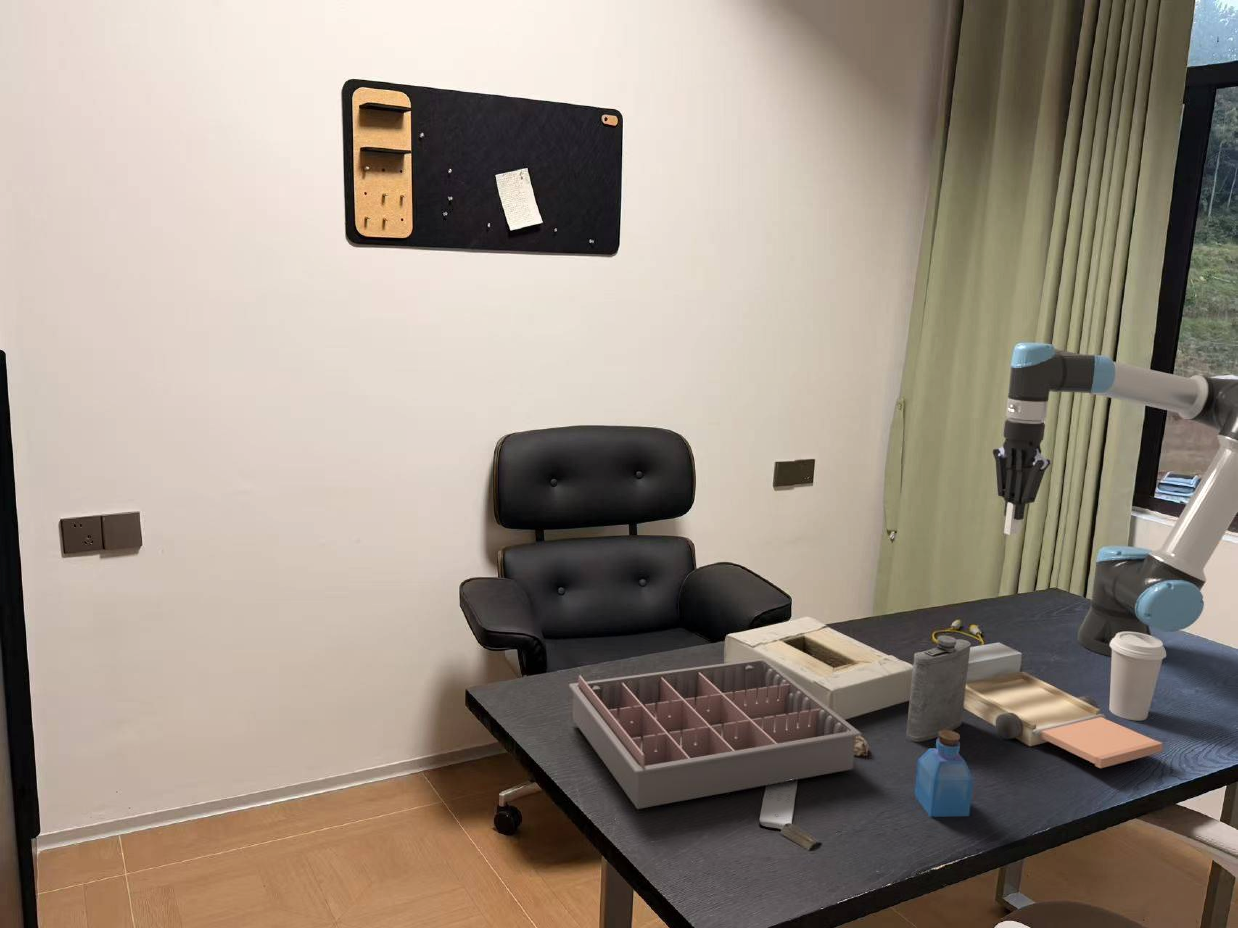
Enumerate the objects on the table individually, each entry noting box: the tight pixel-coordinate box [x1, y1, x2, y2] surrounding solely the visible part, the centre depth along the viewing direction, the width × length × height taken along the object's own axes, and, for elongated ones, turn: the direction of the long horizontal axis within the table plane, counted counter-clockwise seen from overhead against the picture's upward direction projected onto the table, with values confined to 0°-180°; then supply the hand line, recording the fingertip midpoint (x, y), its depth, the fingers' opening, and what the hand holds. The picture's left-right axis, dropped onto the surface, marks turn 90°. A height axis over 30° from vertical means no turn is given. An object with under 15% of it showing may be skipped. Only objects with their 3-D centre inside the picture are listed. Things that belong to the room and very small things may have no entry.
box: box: [723, 616, 913, 721], centre depth 196 cm, size 23×8×32 cm
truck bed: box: [963, 642, 1101, 747], centre depth 186 cm, size 24×21×8 cm
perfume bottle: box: [914, 730, 974, 818], centre depth 151 cm, size 6×6×12 cm
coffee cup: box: [1109, 632, 1167, 722], centre depth 185 cm, size 10×10×15 cm
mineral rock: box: [854, 735, 870, 757], centre depth 171 cm, size 11×4×8 cm
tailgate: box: [1032, 713, 1164, 769], centre depth 169 cm, size 2×17×13 cm
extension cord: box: [932, 619, 986, 647], centre depth 221 cm, size 12×16×2 cm
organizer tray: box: [568, 658, 863, 810], centre depth 166 cm, size 32×40×10 cm
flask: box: [905, 635, 972, 743], centre depth 175 cm, size 4×14×18 cm, turn 126°
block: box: [780, 822, 822, 852], centre depth 143 cm, size 4×6×2 cm, turn 41°
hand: (1011, 533), depth 200 cm, fingers closed
